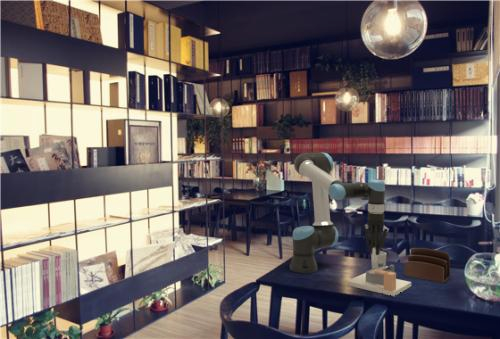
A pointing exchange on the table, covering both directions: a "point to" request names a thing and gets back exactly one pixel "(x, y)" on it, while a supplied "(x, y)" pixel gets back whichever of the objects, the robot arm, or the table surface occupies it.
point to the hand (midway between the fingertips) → (375, 261)
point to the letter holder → (428, 265)
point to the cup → (379, 259)
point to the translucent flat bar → (379, 269)
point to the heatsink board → (378, 287)
